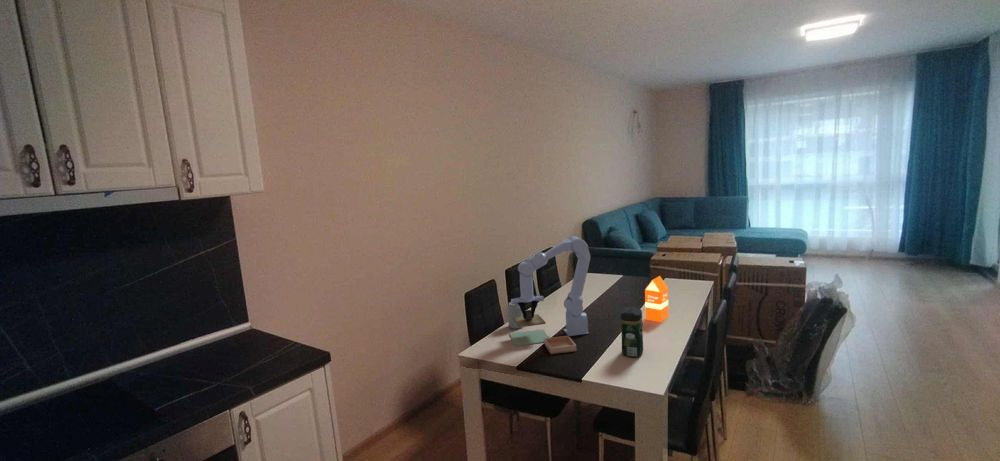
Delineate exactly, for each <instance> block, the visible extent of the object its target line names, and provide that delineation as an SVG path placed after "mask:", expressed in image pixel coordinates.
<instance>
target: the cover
mask: <svg viewBox="0 0 1000 461" xmlns="http://www.w3.org/2000/svg"><path fill="white" fill-rule="evenodd" d="M525 315H526V319H524V318H523V316H520V317H513V320H514V321H515V323H516V324H517V325H518V327H522V328H526V327H532V326H538V325H539V326H540V325H546V321H545V320H544V319H543V318H542V317H541V316H540V315H539V314H538V313H537V314H535V313H534V318H532V311H531V309H525Z"/></svg>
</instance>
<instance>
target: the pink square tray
mask: <svg viewBox="0 0 1000 461" xmlns="http://www.w3.org/2000/svg"><path fill="white" fill-rule="evenodd" d="M544 344H545V345H544ZM543 345H544V346H545V348H546V350H547V351H548V352H549V354H550V355H557V354H562V353H563V354H565V353H572V352H577V344H576V343H575V342H574V341H573V339H572V338H571V336H568V335H562V336H555V337H554V336H553V337H549V338H545V339H544V343H543Z"/></svg>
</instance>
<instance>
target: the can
mask: <svg viewBox="0 0 1000 461" xmlns="http://www.w3.org/2000/svg"><path fill="white" fill-rule="evenodd" d="M520 316H523V314H522V311H521V309H520V306H519V305H518V304H513V305H512V304H511V301H510V302H509V303H508V305H507V317H508V318H507V319H508V327H510V328H511V329H513V330H515V329H516V330H519V329H522V328H523V327H518V325H517V324H516V323H515V321H514V320H513V317H520Z"/></svg>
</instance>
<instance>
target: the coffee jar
mask: <svg viewBox="0 0 1000 461" xmlns="http://www.w3.org/2000/svg"><path fill="white" fill-rule="evenodd" d="M620 327H621V330H620V331H621V353H622V356H624V357H628V358H637V357H641V356H642V354H643V353H644V339H643V338H644V337H643V336H644V334H643V311H642V309H641V308H639V307H638V306H627V307H625V308H623V309H622V310H621V312H620Z"/></svg>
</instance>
